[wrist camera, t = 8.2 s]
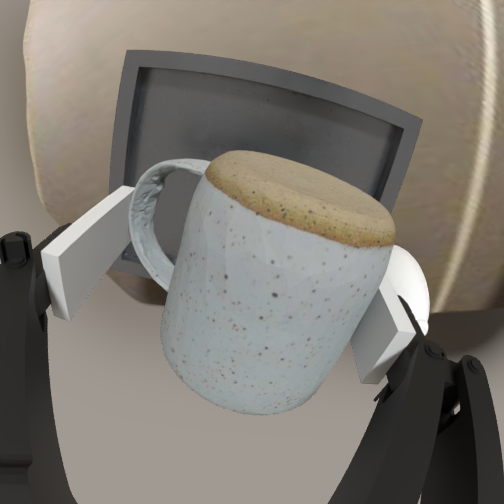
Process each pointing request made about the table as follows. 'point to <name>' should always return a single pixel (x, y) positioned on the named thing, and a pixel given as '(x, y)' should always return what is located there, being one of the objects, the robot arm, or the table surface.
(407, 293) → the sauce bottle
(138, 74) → the grey piece
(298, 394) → the ceramic mug
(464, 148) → the table surface
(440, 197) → the table surface
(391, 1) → the table surface
